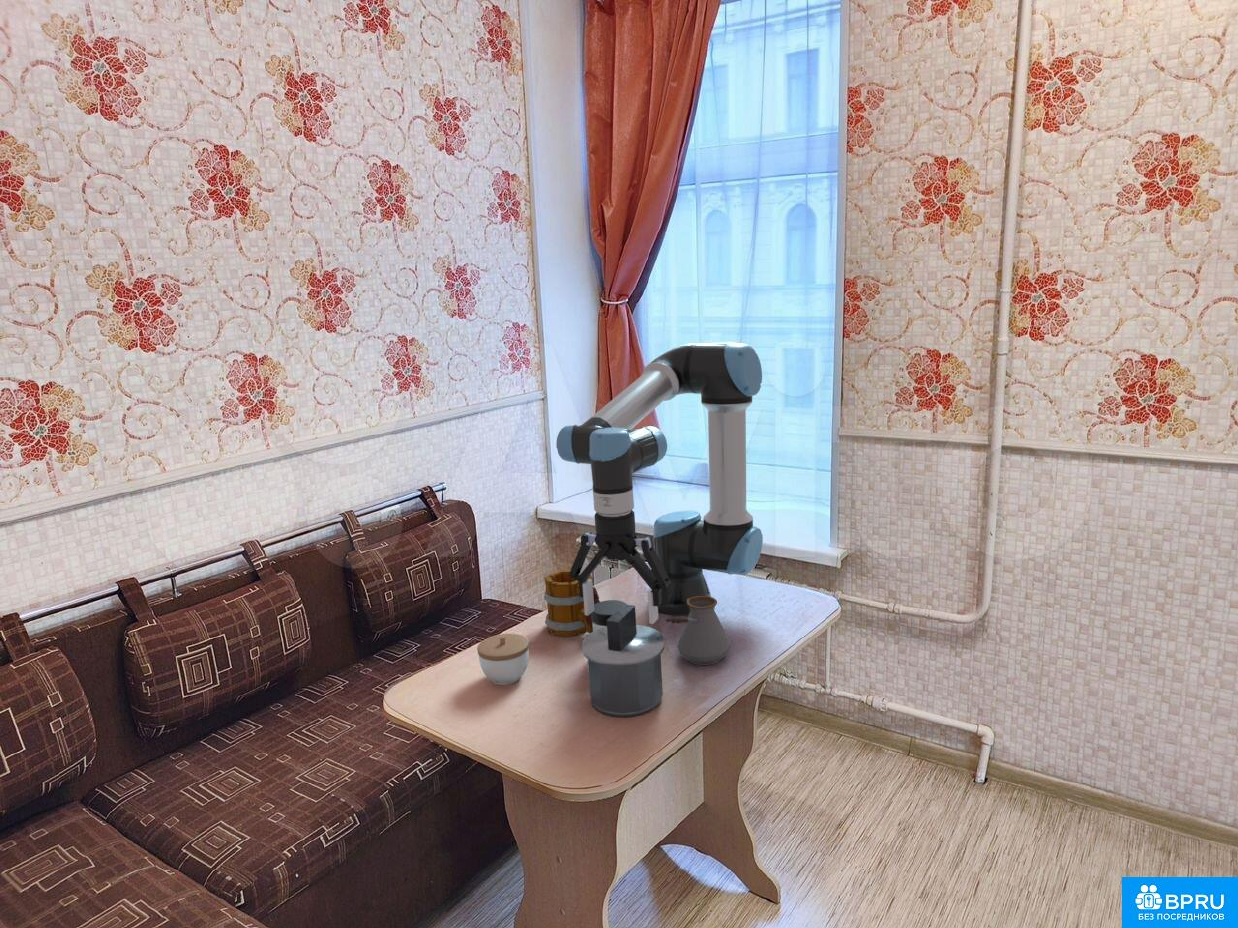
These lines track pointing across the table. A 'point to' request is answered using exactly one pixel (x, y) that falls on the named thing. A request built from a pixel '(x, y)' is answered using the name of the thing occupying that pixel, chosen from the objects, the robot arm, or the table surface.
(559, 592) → the mug
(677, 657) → the table surface
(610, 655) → the lid
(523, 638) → the lidded jar
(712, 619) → the coffee pot
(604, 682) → the pot
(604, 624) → the jar
